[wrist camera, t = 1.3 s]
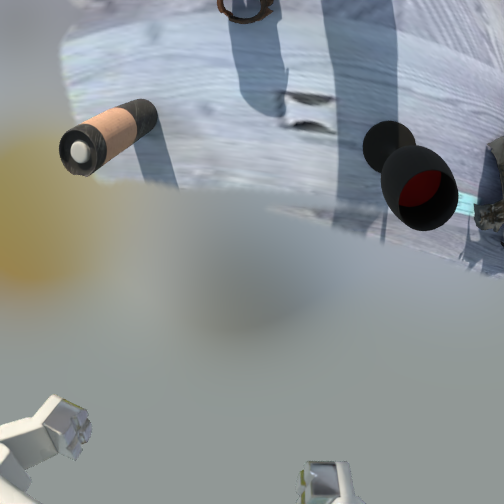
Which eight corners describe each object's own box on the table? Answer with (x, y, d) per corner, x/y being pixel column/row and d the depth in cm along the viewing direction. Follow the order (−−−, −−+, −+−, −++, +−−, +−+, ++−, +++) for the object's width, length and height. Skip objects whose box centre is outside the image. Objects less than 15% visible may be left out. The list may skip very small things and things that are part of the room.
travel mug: (143, 89, 46) (75, 117, 30) (166, 119, 49) (107, 158, 34) (118, 113, 49) (51, 150, 34) (140, 141, 53) (80, 187, 37)
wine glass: (418, 169, 47) (462, 228, 32) (368, 178, 51) (394, 243, 35) (410, 116, 42) (463, 156, 26) (356, 126, 45) (385, 170, 30)
